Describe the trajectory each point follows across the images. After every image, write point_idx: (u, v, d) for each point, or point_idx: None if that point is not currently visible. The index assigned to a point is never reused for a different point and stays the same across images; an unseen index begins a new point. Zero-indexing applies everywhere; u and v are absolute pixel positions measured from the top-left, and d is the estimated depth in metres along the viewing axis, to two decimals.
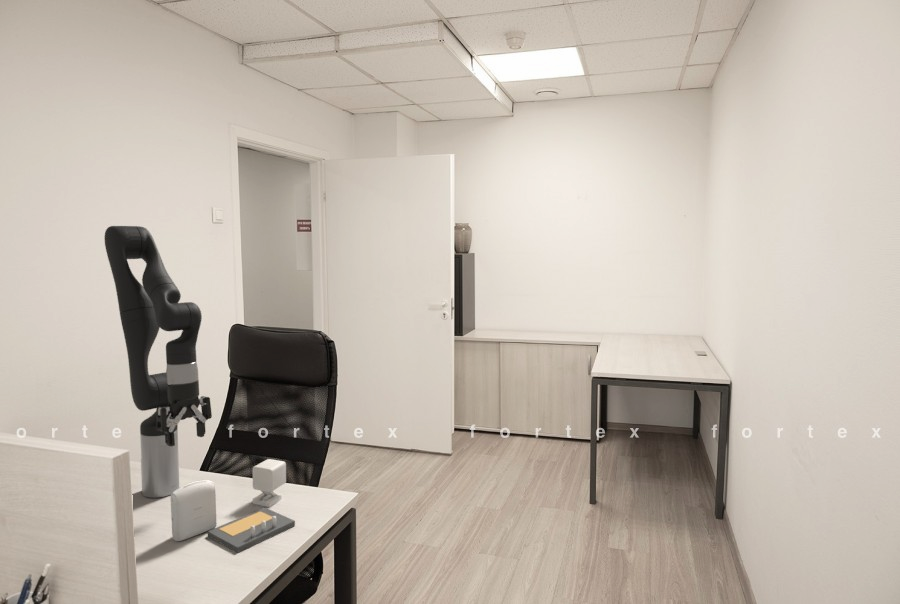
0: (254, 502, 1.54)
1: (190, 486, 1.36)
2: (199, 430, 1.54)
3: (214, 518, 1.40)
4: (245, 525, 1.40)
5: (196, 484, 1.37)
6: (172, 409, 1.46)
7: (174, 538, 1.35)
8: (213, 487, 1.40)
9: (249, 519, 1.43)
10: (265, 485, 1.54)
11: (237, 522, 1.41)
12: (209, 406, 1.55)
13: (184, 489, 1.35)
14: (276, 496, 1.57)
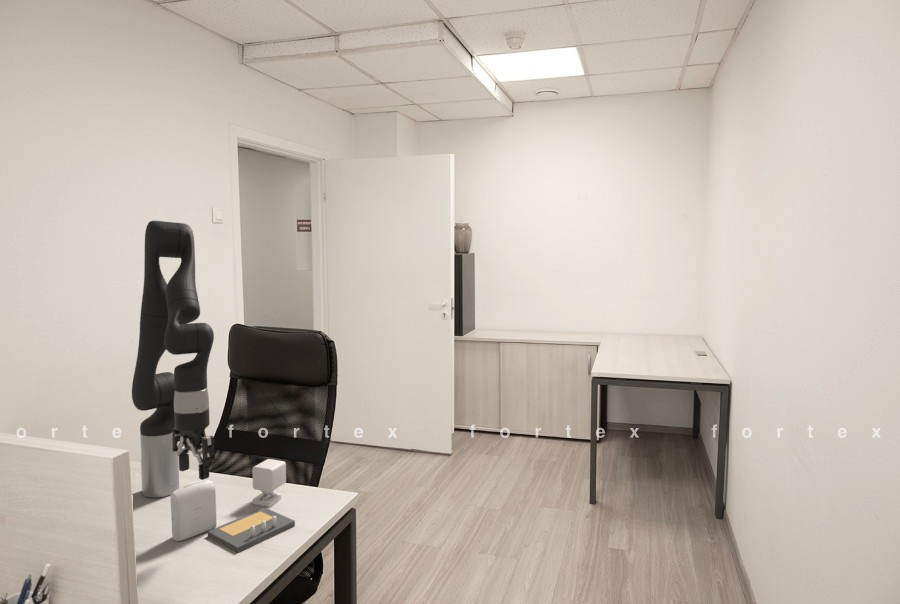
0: (254, 502, 1.54)
1: (190, 486, 1.36)
2: (184, 463, 1.39)
3: (214, 518, 1.40)
4: (245, 525, 1.40)
5: (196, 484, 1.37)
6: None
7: (174, 538, 1.35)
8: (213, 487, 1.40)
9: (249, 519, 1.43)
10: (265, 485, 1.54)
11: (237, 522, 1.41)
12: None
13: (184, 489, 1.35)
14: (276, 496, 1.57)
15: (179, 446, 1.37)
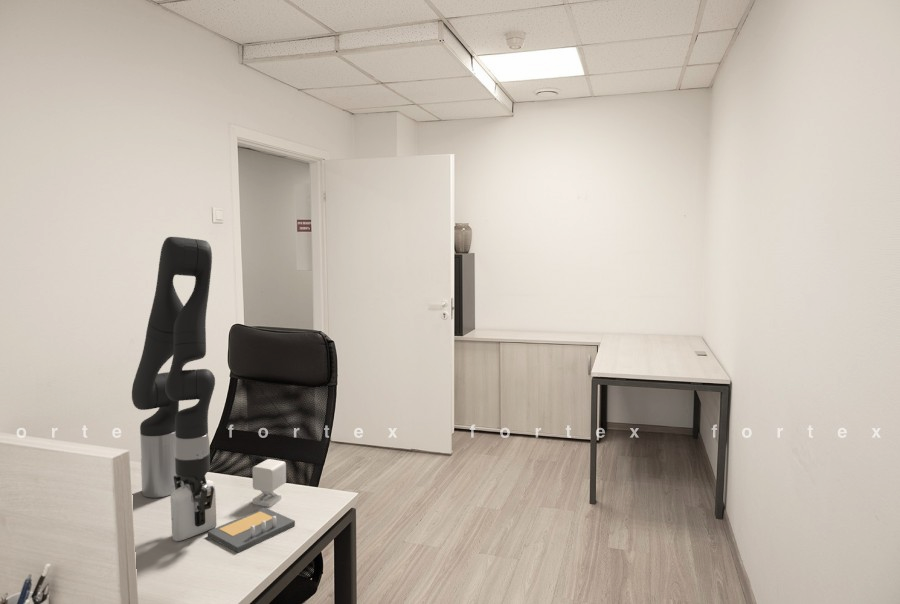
0: (254, 502, 1.54)
1: None
2: None
3: (214, 518, 1.40)
4: (245, 525, 1.40)
5: None
6: None
7: (174, 538, 1.35)
8: None
9: (249, 519, 1.43)
10: (265, 485, 1.54)
11: (237, 522, 1.41)
12: None
13: (184, 489, 1.35)
14: (276, 496, 1.57)
15: None
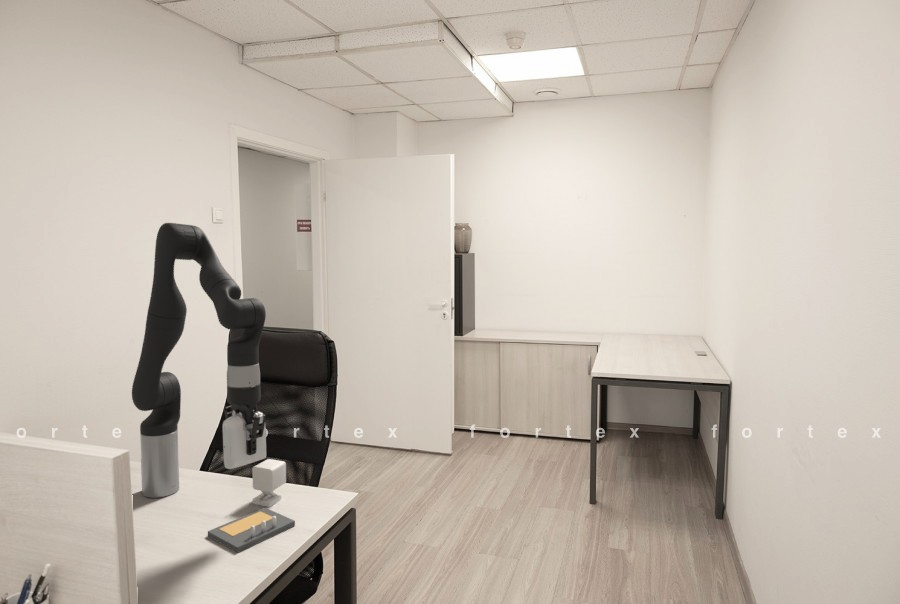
0: (254, 502, 1.54)
1: None
2: None
3: (264, 449, 1.41)
4: (245, 525, 1.40)
5: None
6: None
7: (226, 466, 1.35)
8: None
9: (249, 519, 1.43)
10: (265, 485, 1.54)
11: (237, 522, 1.41)
12: None
13: (236, 417, 1.36)
14: (276, 496, 1.57)
15: None
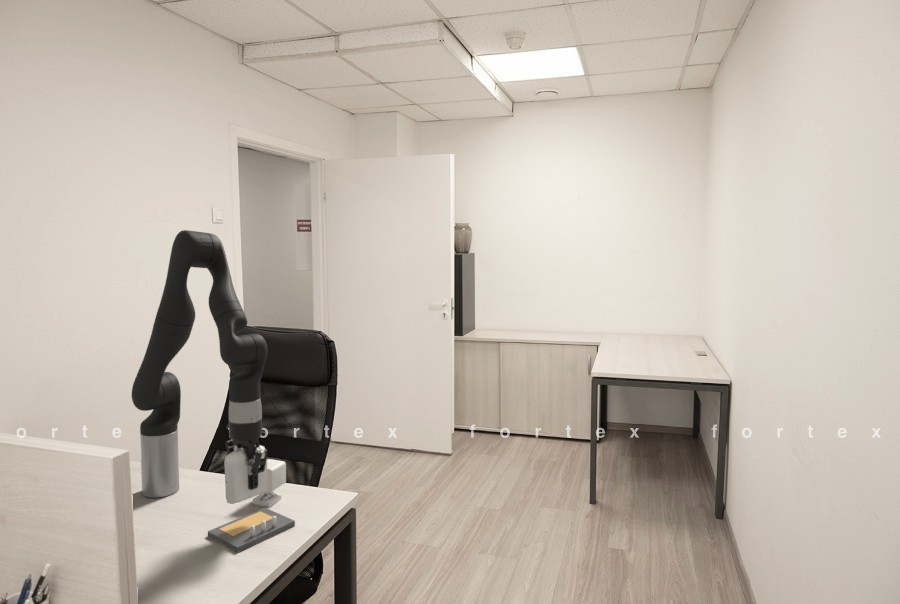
0: (254, 502, 1.54)
1: None
2: None
3: (266, 482, 1.42)
4: (245, 525, 1.40)
5: None
6: None
7: (228, 501, 1.36)
8: None
9: (249, 519, 1.43)
10: None
11: (237, 522, 1.41)
12: None
13: (238, 452, 1.37)
14: (276, 496, 1.57)
15: None
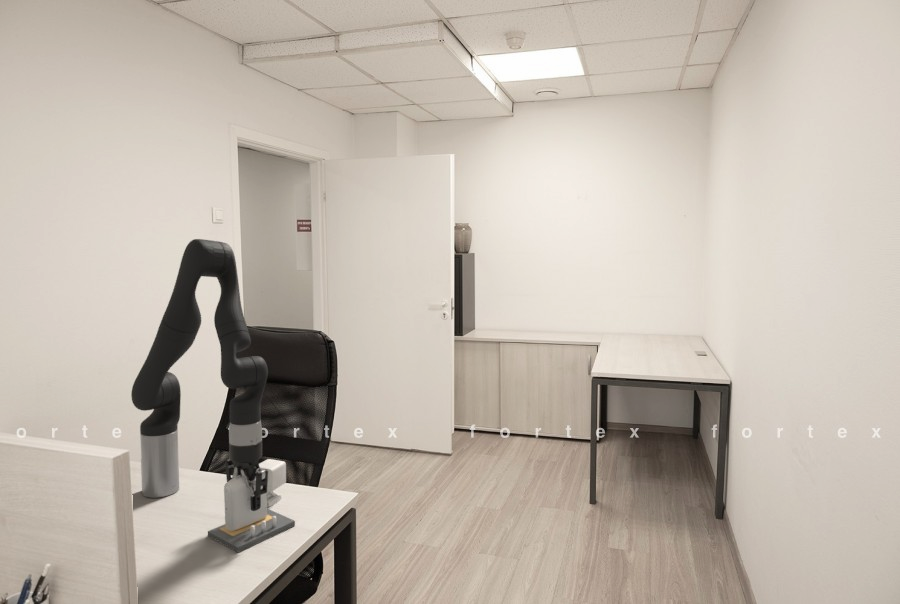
0: None
1: (243, 477, 1.39)
2: None
3: (265, 508, 1.43)
4: None
5: None
6: None
7: (228, 528, 1.37)
8: None
9: None
10: None
11: None
12: None
13: (237, 479, 1.38)
14: (276, 496, 1.57)
15: (233, 477, 1.40)
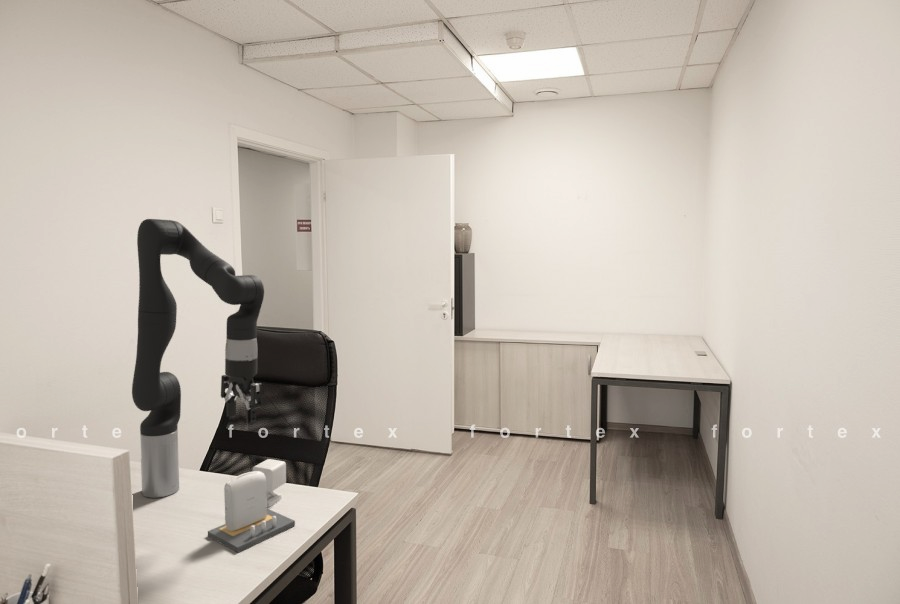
0: None
1: (243, 477, 1.39)
2: (231, 409, 1.47)
3: (265, 508, 1.43)
4: None
5: (248, 475, 1.40)
6: None
7: (228, 528, 1.37)
8: (264, 478, 1.42)
9: None
10: None
11: None
12: None
13: (238, 480, 1.38)
14: (276, 496, 1.57)
15: (228, 392, 1.44)
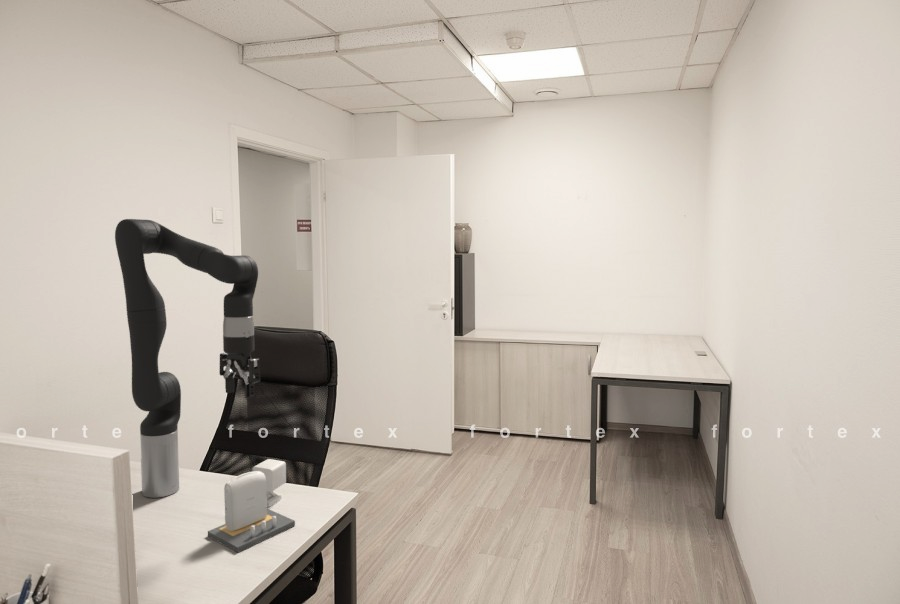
0: None
1: (243, 477, 1.39)
2: (230, 386, 1.52)
3: (265, 508, 1.43)
4: None
5: (248, 475, 1.40)
6: None
7: (228, 528, 1.37)
8: (264, 478, 1.42)
9: None
10: None
11: None
12: None
13: (238, 480, 1.38)
14: (276, 496, 1.57)
15: (226, 369, 1.49)
